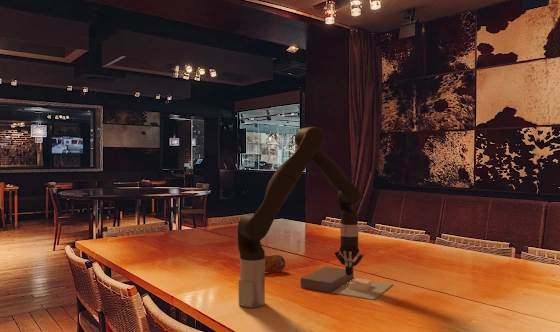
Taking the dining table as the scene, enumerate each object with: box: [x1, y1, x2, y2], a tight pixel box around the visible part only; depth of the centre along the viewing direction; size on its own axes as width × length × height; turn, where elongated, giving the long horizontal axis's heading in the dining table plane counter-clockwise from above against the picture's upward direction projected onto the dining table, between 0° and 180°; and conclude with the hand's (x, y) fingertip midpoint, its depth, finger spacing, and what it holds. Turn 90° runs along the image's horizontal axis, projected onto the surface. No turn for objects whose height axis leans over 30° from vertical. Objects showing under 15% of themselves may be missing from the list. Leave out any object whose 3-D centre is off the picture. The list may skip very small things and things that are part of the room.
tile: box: [348, 277, 373, 291], centre depth 180 cm, size 9×7×2 cm
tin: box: [265, 254, 286, 273], centre depth 206 cm, size 15×3×8 cm, turn 105°
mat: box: [331, 277, 394, 301], centre depth 179 cm, size 24×18×1 cm
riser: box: [300, 265, 355, 294], centre depth 188 cm, size 24×14×4 cm, turn 148°
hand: (349, 275), depth 182 cm, fingers closed
